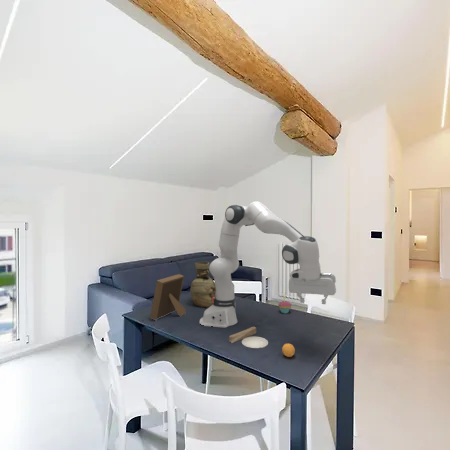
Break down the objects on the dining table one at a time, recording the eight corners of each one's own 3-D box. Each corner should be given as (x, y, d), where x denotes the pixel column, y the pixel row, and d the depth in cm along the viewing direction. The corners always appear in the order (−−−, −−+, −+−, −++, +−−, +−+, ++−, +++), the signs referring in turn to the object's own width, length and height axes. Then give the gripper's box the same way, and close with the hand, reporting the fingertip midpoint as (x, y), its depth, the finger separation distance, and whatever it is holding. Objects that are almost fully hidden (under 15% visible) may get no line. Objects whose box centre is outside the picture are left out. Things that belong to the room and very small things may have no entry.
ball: (283, 359, 126) (283, 346, 125) (281, 353, 131) (281, 341, 131) (295, 359, 125) (295, 346, 125) (293, 353, 131) (293, 341, 131)
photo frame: (149, 320, 176) (149, 279, 175) (172, 309, 195) (172, 273, 194) (169, 324, 169) (168, 282, 168) (190, 313, 188) (190, 275, 188)
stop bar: (256, 333, 154) (256, 327, 154) (232, 343, 142) (231, 337, 142) (253, 332, 156) (253, 326, 156) (229, 342, 144) (229, 336, 143)
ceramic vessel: (224, 305, 203) (223, 263, 202) (195, 310, 194) (194, 265, 194) (214, 299, 220) (213, 260, 220) (187, 302, 212) (186, 262, 211)
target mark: (241, 348, 137) (241, 347, 137) (241, 336, 150) (241, 336, 150) (269, 348, 136) (269, 347, 136) (266, 337, 149) (266, 336, 149)
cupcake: (276, 310, 192) (276, 292, 191) (289, 309, 192) (289, 292, 192) (280, 314, 183) (280, 295, 183) (293, 314, 184) (293, 295, 183)
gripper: (336, 271, 126) (338, 302, 127) (290, 270, 136) (292, 298, 137) (333, 275, 120) (336, 307, 121) (286, 274, 130) (289, 303, 131)
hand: (313, 303), depth 129 cm, fingers open, 8 cm apart
